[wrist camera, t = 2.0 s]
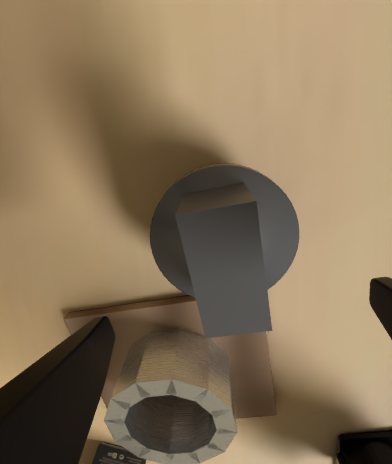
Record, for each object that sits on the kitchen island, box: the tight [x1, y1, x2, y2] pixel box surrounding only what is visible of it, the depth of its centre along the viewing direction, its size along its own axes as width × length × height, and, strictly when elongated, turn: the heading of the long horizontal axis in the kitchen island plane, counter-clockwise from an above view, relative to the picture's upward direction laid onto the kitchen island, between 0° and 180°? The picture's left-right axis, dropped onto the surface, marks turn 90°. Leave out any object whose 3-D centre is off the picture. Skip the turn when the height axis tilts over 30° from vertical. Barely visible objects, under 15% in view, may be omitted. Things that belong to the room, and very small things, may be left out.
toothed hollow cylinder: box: [104, 328, 237, 464], centre depth 20 cm, size 9×9×4 cm
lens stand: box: [64, 296, 277, 418], centre depth 22 cm, size 16×14×1 cm
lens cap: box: [150, 164, 299, 339], centre depth 14 cm, size 8×8×8 cm
